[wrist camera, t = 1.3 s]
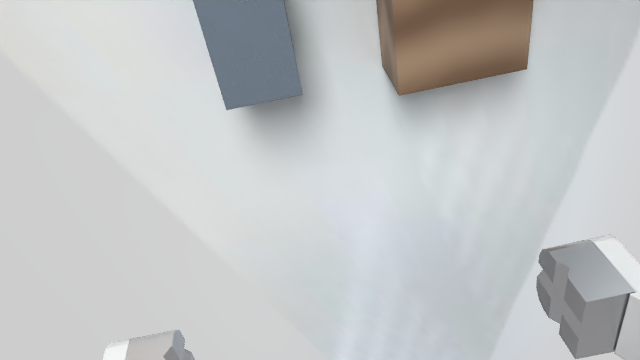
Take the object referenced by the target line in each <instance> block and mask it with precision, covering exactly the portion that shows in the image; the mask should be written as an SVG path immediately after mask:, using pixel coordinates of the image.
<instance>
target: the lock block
mask: <svg viewBox="0 0 640 360" xmlns="http://www.w3.org/2000/svg"><path fill="white" fill-rule="evenodd" d="M193 2H194V5H195V9H196V12H197V15H198V18H199V22H200V25H201V28H202V32H203V35H204V38H205V41H206V45H207V48H208V51H209V54H210V58H211V61H212V64H213V67H214V71H215V74H216V77H217V80H218V84H219V87H220V90H221V94H222V97H223V100H224V103H225V107H226V110H229V109H234V108H239V107H244V106H249V105H254V104H258V103H263V102H268V101H273V100H278V99H283V98H287V97H292V96H297V95H302V90H301V85H300V80H299V75H298V70H297V65H296V60H295V55H294V50H293V45H292V41H291V36H290V31H289V26H288V21H287V16H286V11H285V6H284V1H283V0H193Z"/></svg>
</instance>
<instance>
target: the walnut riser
mask: <svg viewBox="0 0 640 360" xmlns="http://www.w3.org/2000/svg"><path fill="white" fill-rule="evenodd" d="M376 1H377V12H378V23H379V34H380V45H381V56H382V66H383V68H384V70H385V71H386V73H387V75H388V77H389V79H390V80H391V82H392V84H393V86H394V87H395V89H396V91H397V93H398V95H404V94H409V93H414V92H419V91H423V90H428V89H433V88H438V87H443V86H448V85H452V84H457V83H462V82H467V81H472V80H477V79H482V78H486V77H491V76H496V75H501V74H506V73H511V72H515V71H520V70H525V69H527V64H528V53H529V42H530V31H531V20H532V9H533V0H376Z"/></svg>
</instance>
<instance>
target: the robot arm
mask: <svg viewBox="0 0 640 360" xmlns="http://www.w3.org/2000/svg"><path fill="white" fill-rule="evenodd" d="M539 263H540V265H541V267H542V268H543V271H542V272H541V273H540V274H539V275H538V276H537V292H538V296H539V300H540V302H541V305H542V307H543V309H544V311H545V312H546V314H547V316H548V317H549V318H551V319H552V320H554V321H556V322H558V323H560V331H559V334H560V336H561V338H562V339H563V341H564V342H565V344H566V345H567V347H568V348H569V350H570V352H571V353H572V355H573V356H574V358H575V359H578V358H583V357H588V356H593V355H599V354H604V353H609V352H614V351H615V354H616V355H618V356H619V357H621V358H622V359H624V360H640V263H639V262H638V261H637V260H636V259H635V258H634V257H633V255H632V254H631V253H630V252H629V251H628V250H627V249H626V248H625V247H624V246H623V245H622V244H621V243H620V242H619V241H618V239H616V237H614V236H612V235H606V236H601V237H597V238H592V239H588V240H582V241H578V242H573V243H570V244H565V245H561V246H556V247H552V248H548V249H543V250H542V251H541V253H540V255H539ZM184 343H185V339H184V337H183V335H182V333H181V332H180V330H174V331H169V332H164V333H158V334H153V335H148V336H143V337H137V338H133V339H129V340H124V341H118V342H113V343H110V344H109V345H108V347H107V348H106V350H105V352H104V356H103V360H195V359H194V357H193V354H192V353H191V352H190V351H188V350H186V349H184V345H185V344H184Z"/></svg>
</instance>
